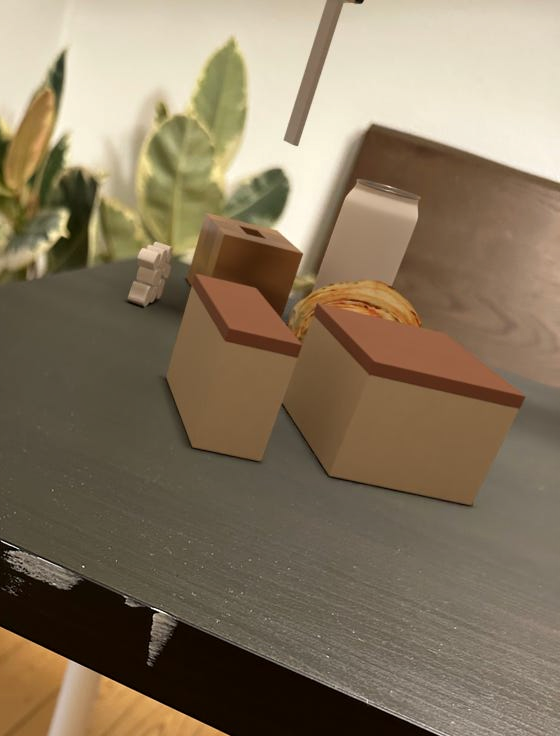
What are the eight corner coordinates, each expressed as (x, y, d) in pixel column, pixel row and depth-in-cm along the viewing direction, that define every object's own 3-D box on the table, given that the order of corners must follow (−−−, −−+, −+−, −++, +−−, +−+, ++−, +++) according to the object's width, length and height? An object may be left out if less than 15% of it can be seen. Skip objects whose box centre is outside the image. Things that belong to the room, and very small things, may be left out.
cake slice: (224, 390, 63) (256, 288, 59) (261, 462, 53) (303, 344, 49) (165, 377, 62) (195, 273, 59) (191, 447, 52) (229, 327, 49)
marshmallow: (142, 307, 77) (157, 250, 75) (126, 302, 77) (140, 244, 75) (162, 300, 81) (177, 245, 79) (147, 294, 81) (161, 240, 79)
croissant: (354, 462, 67) (450, 382, 63) (255, 359, 66) (346, 270, 62) (366, 384, 85) (442, 318, 81) (288, 301, 84) (360, 229, 79)
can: (358, 344, 84) (414, 199, 78) (292, 319, 87) (341, 176, 80) (379, 336, 89) (434, 199, 83) (316, 313, 92) (365, 178, 85)
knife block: (256, 296, 92) (277, 230, 89) (279, 324, 84) (303, 253, 80) (186, 279, 91) (205, 212, 88) (202, 306, 83) (224, 233, 79)
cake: (403, 429, 65) (445, 333, 62) (471, 506, 55) (526, 396, 52) (281, 402, 64) (316, 302, 60) (328, 476, 54) (374, 361, 50)
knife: (298, 144, 72) (370, -84, 64) (308, 149, 69) (385, -88, 62) (272, 137, 71) (343, -93, 64) (282, 142, 69) (356, -97, 62)
